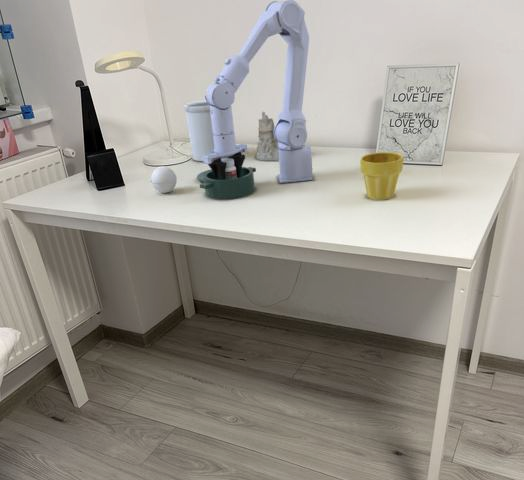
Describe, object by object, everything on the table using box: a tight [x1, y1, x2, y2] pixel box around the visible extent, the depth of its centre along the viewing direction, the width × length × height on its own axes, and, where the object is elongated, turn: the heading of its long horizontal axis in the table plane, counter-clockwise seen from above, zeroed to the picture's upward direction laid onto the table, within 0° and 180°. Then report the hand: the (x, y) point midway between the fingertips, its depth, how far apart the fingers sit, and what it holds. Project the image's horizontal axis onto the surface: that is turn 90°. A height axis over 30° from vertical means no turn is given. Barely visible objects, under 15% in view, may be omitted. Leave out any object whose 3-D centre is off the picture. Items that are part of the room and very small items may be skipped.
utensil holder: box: [183, 99, 226, 162], centre depth 185 cm, size 15×15×18 cm
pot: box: [199, 166, 257, 201], centre depth 151 cm, size 14×19×5 cm
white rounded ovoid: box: [150, 165, 178, 194], centre depth 154 cm, size 10×7×7 cm
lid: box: [196, 168, 212, 183], centre depth 165 cm, size 15×15×5 cm
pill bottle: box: [221, 158, 237, 180], centre depth 150 cm, size 5×5×8 cm
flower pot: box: [359, 151, 404, 201], centre depth 136 cm, size 10×10×10 cm
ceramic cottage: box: [255, 110, 279, 162], centre depth 180 cm, size 16×16×15 cm
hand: (229, 184), depth 151 cm, fingers closed on pill bottle, 5 cm apart
